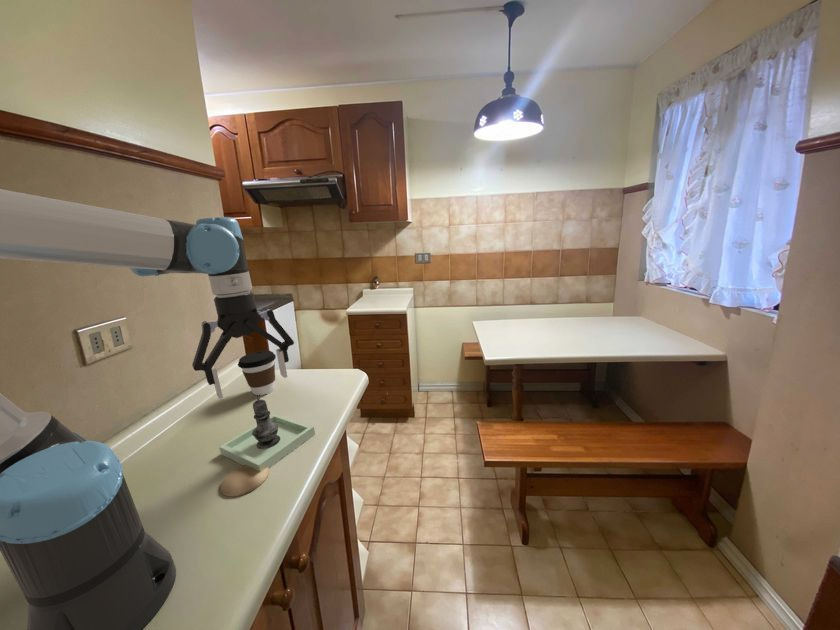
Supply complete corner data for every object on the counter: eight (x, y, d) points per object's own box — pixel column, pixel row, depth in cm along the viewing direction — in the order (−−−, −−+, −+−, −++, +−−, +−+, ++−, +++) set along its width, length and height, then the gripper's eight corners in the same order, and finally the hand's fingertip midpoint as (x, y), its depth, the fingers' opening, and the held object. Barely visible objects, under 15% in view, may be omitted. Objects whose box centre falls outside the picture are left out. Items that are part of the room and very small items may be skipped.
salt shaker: (272, 450, 78) (260, 403, 75) (249, 449, 79) (237, 403, 76) (286, 434, 83) (276, 390, 80) (265, 434, 85) (254, 390, 81)
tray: (260, 473, 72) (258, 465, 71) (221, 454, 79) (219, 446, 79) (315, 434, 84) (313, 426, 83) (276, 420, 91) (274, 413, 91)
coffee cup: (251, 386, 114) (243, 352, 111) (285, 380, 116) (278, 347, 113) (240, 402, 104) (231, 365, 100) (278, 396, 105) (270, 360, 102)
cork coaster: (237, 502, 64) (237, 500, 64) (211, 487, 69) (211, 485, 69) (278, 471, 72) (277, 469, 71) (252, 459, 76) (251, 458, 76)
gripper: (162, 308, 62) (191, 413, 67) (298, 285, 76) (313, 372, 82) (160, 303, 67) (186, 400, 73) (287, 282, 82) (301, 364, 87)
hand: (253, 385), depth 77 cm, fingers open, 13 cm apart
